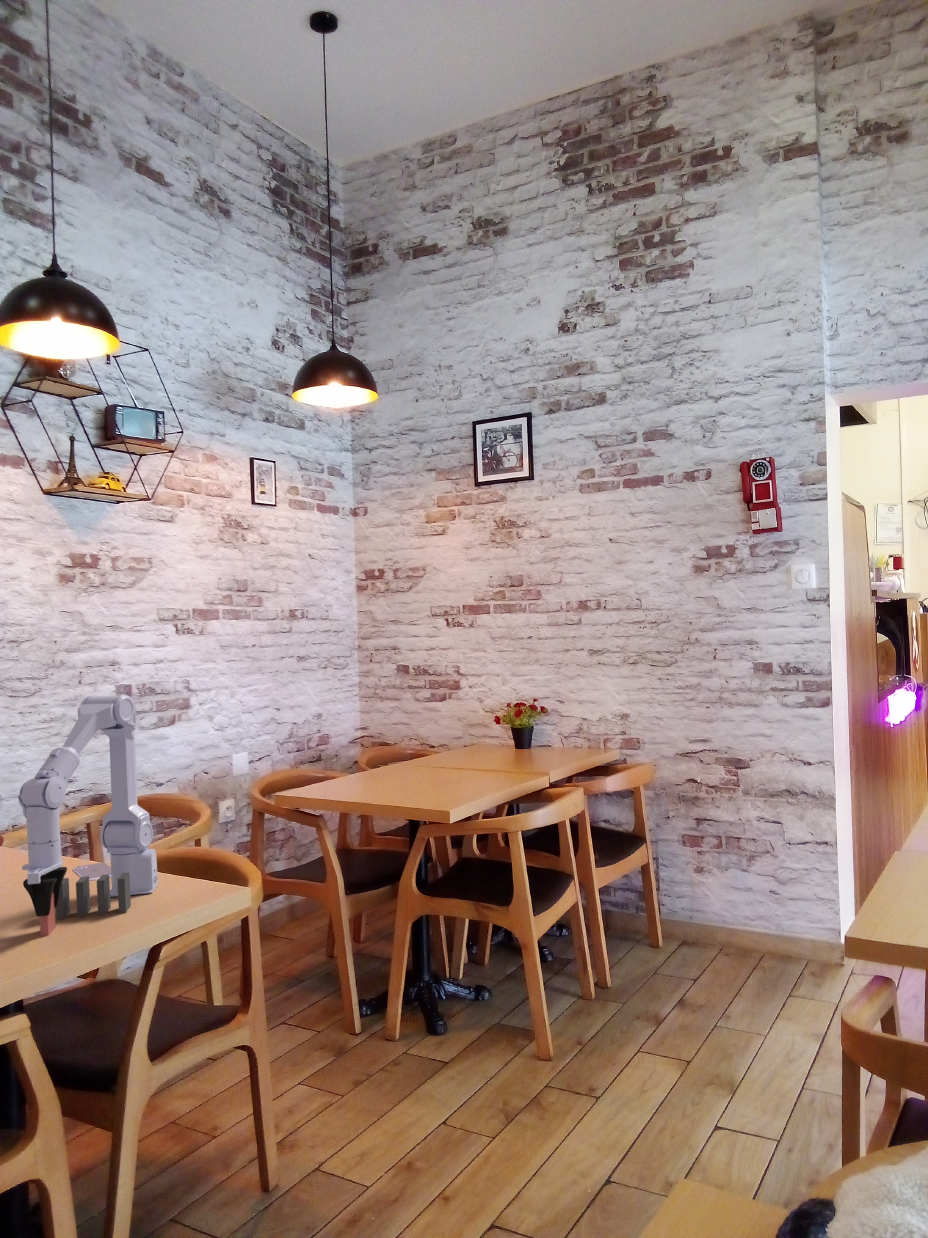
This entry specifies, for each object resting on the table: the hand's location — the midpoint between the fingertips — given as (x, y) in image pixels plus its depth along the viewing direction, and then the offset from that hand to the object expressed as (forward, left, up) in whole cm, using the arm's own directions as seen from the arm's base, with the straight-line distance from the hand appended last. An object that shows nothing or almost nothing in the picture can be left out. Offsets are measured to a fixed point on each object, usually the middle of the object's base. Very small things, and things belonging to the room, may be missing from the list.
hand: (47, 911), depth 170 cm
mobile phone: (+2, -44, -4) cm, 44 cm away
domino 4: (-12, -10, -4) cm, 16 cm away
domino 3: (-8, -10, -4) cm, 13 cm away
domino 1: (0, -10, -4) cm, 11 cm away
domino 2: (-4, -10, -4) cm, 11 cm away
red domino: (0, 0, -4) cm, 4 cm away
